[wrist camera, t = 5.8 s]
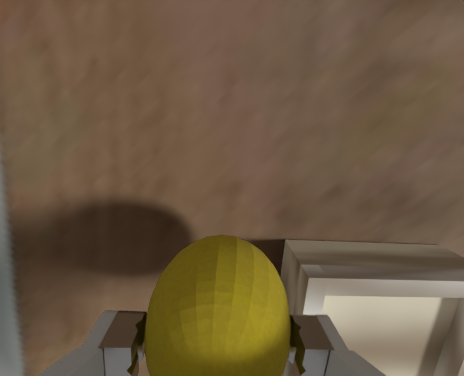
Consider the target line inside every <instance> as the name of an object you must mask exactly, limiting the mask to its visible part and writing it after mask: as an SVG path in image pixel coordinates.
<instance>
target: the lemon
mask: <svg viewBox="0 0 464 376" xmlns="http://www.w3.org/2000/svg"><path fill="white" fill-rule="evenodd" d="M290 334H291V323H290V313H289V306H288V300H287V295H286V291H285V288H284V285H283V283H282V281H281V279H280V276H279V274H278V272H277V270H276V268H275V266H274V265H273V264H272V262H271V261H270V260H269V259H268V258H267V257H266V255H265V254H264V253H263V252H262V251H261V250H260V249H258V248H257V247H255V246H254V245H252V244H251V243H250V242H248V241H245V240H242V239H240V238H237V237H234V236H225V235H218V236H209V237H206V238H203V239H200V240H197V241H195V242H193V243H191V244H190V245H189V246H187V247H186V248H184V249H183V250H181V251H180V252H179V253H178V254H177V255H176V256H175V257H174V258H173V259H172V261H171V262H170V263H169V264H168V265H167V267H166V268H165V269H164V271H163V272H162V274H161V276H160V278H159V280H158V282H157V285H156V287H155V289H154V291H153V293H152V296H151V299H150V302H149V307H148V312H147V318H146V326H145V334H144V350H145V356H146V363H147V367H148V371H149V374H150V376H282V374H283V371H284V369H285V367H286V363H287V359H288V351H289V343H290Z"/></svg>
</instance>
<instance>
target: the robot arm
mask: <svg viewBox="0 0 464 376" xmlns="http://www.w3.org/2000/svg"><path fill="white" fill-rule="evenodd" d="M146 318H147V313H146V312H141V311H112V310H106V311H104V312H103V313H102V314H101V316H100V318H99V319H98V321H97V323H96V324H95V326H94V327H93V329H92V331H91V332H90V334H89V336H88V337H87V339H86V340H85V342H84V344H83V345H82V347H81V348H76V349H74V350H73V351H72V352H70V353H69V354H67V355H66V356H64V357H63V358H62V359H60V360H59V361H57V362H56V363H54V364H53V365H51V366H50V367H49V368H47V369H46V370H44V371H43V372H41V373H40V374H39V375H37V376H138V373H139V362H140V361H141V360H142V359H143V357H144V353H145V350H144V334H145V326H146ZM290 323H291V334H290V343H289V351H288V360H289V361H290V362H291V363H292V364H293V368H292V374H293V376H386V375H385V374H384V373H382V372H381V371H380V370H378V369H377V368H376V367H374V366H373V365H372V364H370V363H369V362H368V361H366V360H365V359H364V358H362V357H361V356H360V355H358V354H357V353H356V352H354V351H353V350H349V349H348V348H347V346H346V344H345V342H344V341H343V339H342V337H341V336H340V334H339V332H338V331H337V329H336V327H335V326H334V324H333V322H332V321H331V319H330V317H329V316H328V315H327V314H315V315H297V314H290Z"/></svg>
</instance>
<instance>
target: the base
mask: <svg viewBox="0 0 464 376" xmlns="http://www.w3.org/2000/svg"><path fill="white" fill-rule="evenodd" d="M280 279H281V281H282V283H283V285H284V288H285V291H286V295H287V300H288V306H289V313H290V314H297V315H315V314H327V315H328V316H329V317H330V319H331V321H332V322H333V324H334V326H335V327H336V329H337V331H338V332H339V334H340V336H341V337H342V339H343V341H344V342H345V344H346V346H347V348H348V349H349V350H353V351H354V352H356V353H357V354H358V355H360V356H361V357H362V358H364V359H365V360H366V361H368V362H369V363H370V364H372V365H373V366H374V367H376V368H377V369H378V370H380V371H381V372H382V373H384V374H385V375H386V376H464V258H463V257H461V256H459V255H457V254H456V253H454V252H452V251H450V250H448V249H446V248H444V247H442V246H440V245H427V244H398V243H370V242H342V241H313V240H285V246H284V253H283V261H282V268H281V276H280ZM292 368H293V364H292V363H291V362H290V361H289V360H288V359H287V363H286V367H285V369H284V371H283V374H282V376H293V374H292Z"/></svg>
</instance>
